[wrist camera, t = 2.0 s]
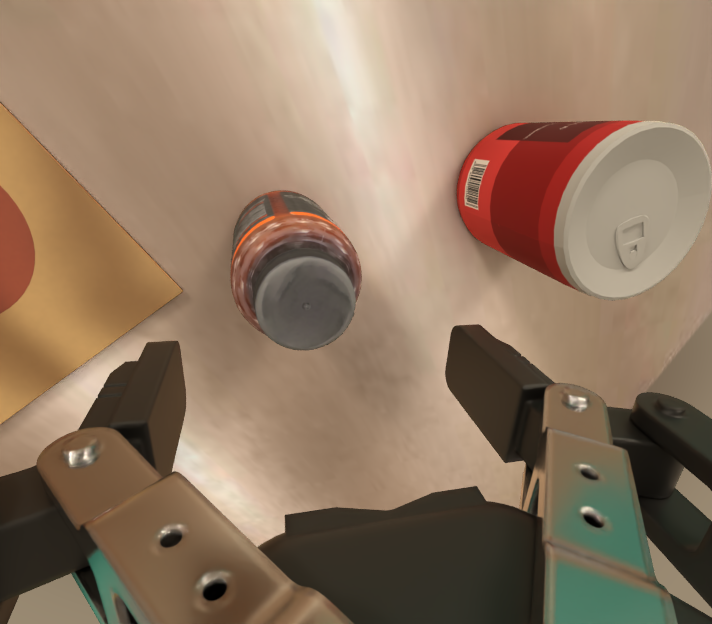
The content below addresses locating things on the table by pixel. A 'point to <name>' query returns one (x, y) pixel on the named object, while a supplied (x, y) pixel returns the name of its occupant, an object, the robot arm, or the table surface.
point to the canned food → (589, 200)
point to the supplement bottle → (293, 271)
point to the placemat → (61, 272)
